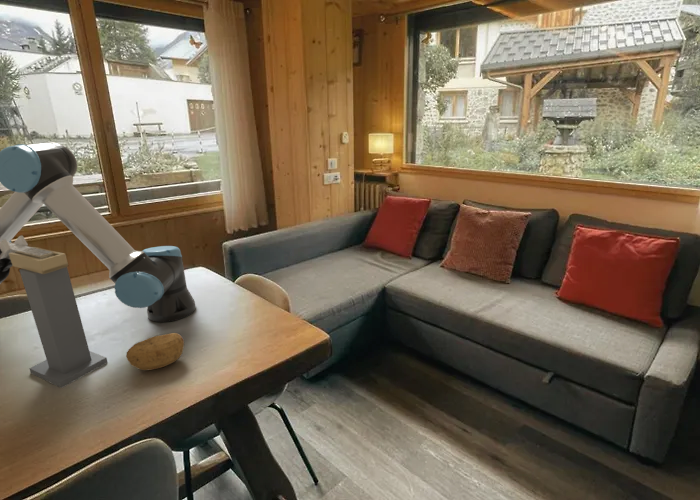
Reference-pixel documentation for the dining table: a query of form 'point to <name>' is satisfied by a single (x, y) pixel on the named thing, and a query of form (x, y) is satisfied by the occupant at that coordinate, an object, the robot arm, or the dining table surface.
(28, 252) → the rail
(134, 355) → the potato
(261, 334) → the dining table surface
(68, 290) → the stand
